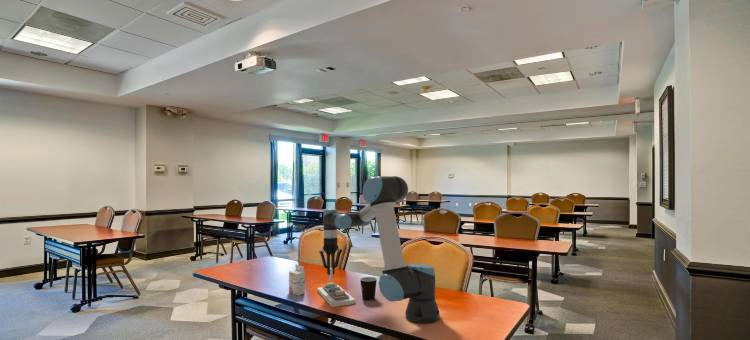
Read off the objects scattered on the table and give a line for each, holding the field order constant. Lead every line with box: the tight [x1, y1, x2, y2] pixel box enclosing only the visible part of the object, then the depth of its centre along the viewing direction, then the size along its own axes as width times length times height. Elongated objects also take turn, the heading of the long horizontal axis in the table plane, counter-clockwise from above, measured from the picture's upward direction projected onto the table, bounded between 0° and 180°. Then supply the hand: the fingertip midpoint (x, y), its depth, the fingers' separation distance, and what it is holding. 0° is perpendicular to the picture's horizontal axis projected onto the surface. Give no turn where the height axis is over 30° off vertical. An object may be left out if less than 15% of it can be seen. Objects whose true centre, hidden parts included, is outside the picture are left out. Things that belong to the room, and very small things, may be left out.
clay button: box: [335, 289, 346, 296], centre depth 193 cm, size 5×5×2 cm
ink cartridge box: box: [288, 264, 306, 296], centre depth 208 cm, size 9×5×15 cm, turn 47°
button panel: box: [316, 284, 356, 308], centre depth 200 cm, size 28×12×3 cm, turn 23°
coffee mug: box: [359, 276, 378, 301], centre depth 199 cm, size 12×9×10 cm
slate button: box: [330, 286, 341, 292], centre depth 200 cm, size 5×5×2 cm
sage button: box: [325, 282, 337, 288], centre depth 207 cm, size 5×5×2 cm
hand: (330, 280), depth 208 cm, fingers closed
